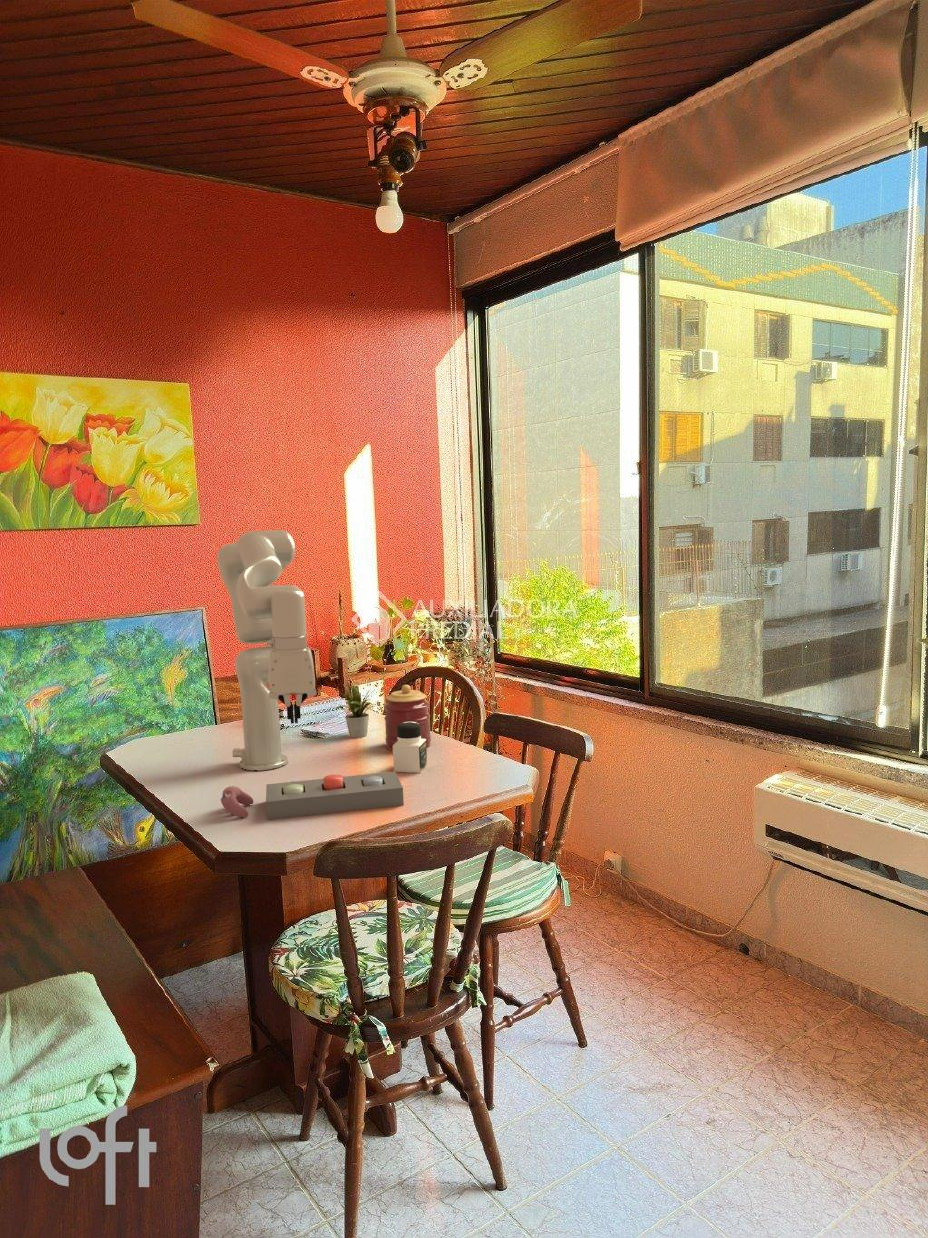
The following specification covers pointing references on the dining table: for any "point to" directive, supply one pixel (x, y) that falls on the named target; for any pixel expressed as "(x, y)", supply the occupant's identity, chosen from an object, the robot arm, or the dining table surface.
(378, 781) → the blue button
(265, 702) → the robot arm
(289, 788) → the green button
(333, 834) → the dining table surface
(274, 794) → the button panel
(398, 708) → the canister
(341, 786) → the red button
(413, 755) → the medicine bottle
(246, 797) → the video game controller
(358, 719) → the house plant
